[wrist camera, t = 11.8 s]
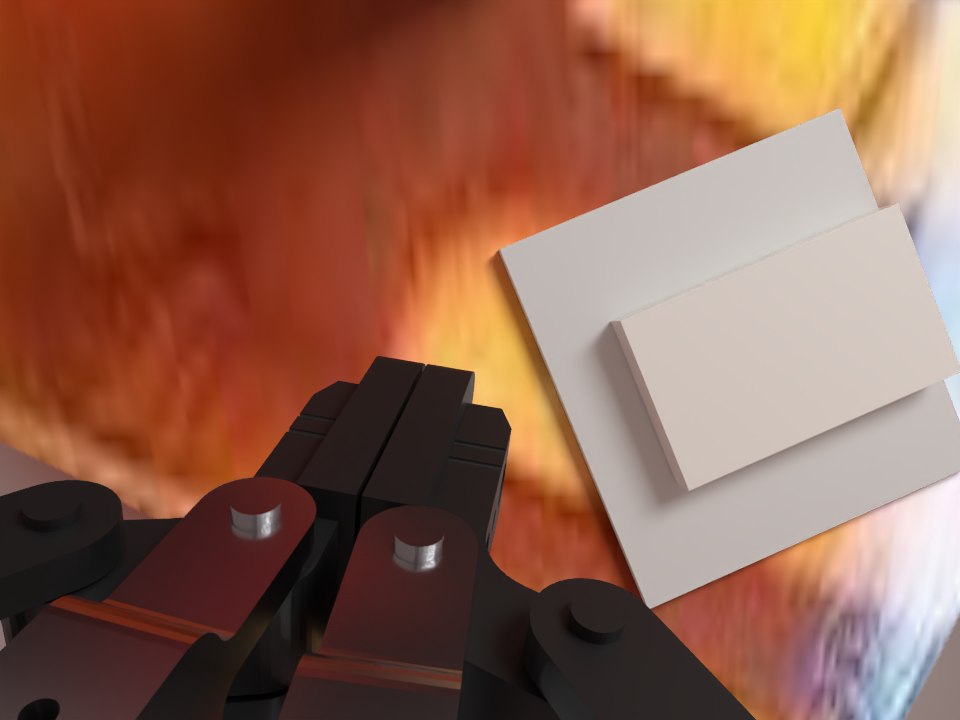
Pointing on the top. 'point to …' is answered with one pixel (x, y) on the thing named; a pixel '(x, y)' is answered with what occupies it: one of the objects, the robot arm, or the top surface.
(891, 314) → the tile
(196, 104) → the top surface
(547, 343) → the mat
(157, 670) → the robot arm
